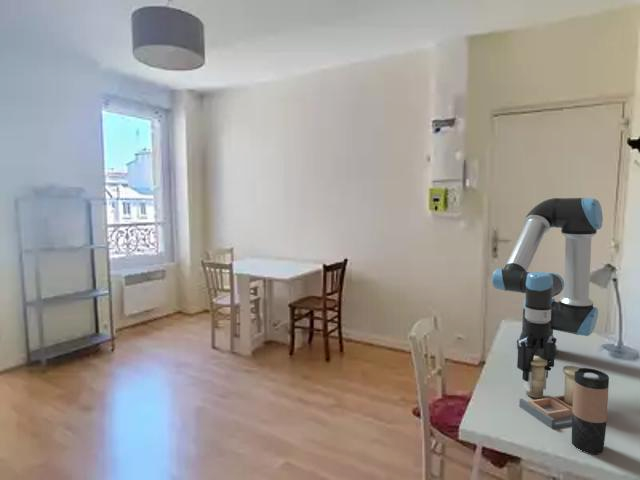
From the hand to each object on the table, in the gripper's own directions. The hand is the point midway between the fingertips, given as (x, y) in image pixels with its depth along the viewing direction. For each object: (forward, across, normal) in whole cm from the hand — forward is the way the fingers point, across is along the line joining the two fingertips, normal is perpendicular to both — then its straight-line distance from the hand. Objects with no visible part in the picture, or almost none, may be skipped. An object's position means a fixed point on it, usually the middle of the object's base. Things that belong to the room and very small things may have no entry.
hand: (534, 388), depth 139 cm
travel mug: (+3, -7, -27) cm, 28 cm away
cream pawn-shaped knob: (+2, 0, 0) cm, 2 cm away
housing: (+2, 0, -11) cm, 11 cm away
